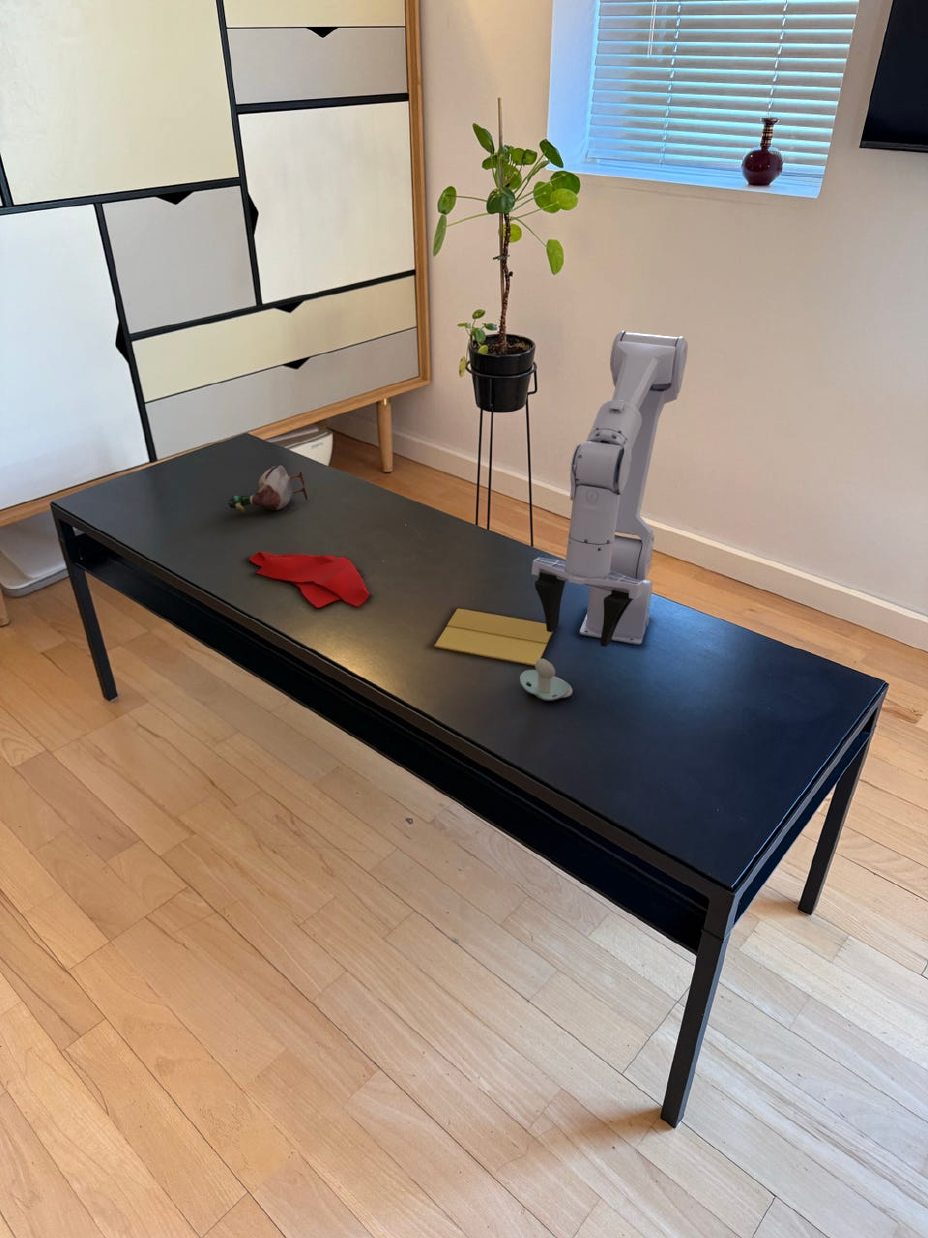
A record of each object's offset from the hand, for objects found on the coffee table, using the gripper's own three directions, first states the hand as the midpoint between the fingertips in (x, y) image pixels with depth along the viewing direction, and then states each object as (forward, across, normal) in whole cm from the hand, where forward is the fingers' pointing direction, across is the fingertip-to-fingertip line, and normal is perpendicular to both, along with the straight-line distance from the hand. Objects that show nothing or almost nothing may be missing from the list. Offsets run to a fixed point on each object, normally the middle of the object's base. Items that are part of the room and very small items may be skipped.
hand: (578, 636), depth 117 cm
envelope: (+8, -17, +10) cm, 22 cm away
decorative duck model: (+3, -79, +30) cm, 84 cm away
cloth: (+7, -53, +12) cm, 55 cm away
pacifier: (+10, -4, +2) cm, 11 cm away
